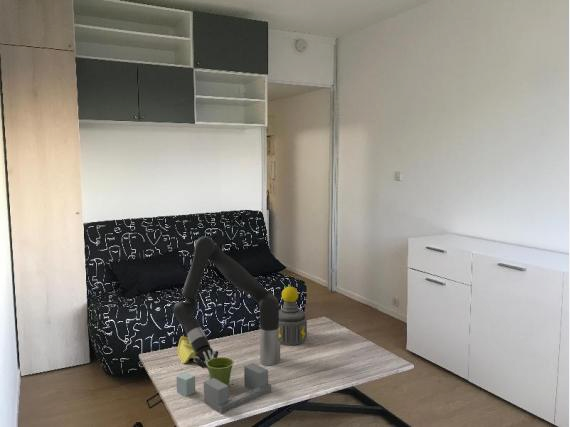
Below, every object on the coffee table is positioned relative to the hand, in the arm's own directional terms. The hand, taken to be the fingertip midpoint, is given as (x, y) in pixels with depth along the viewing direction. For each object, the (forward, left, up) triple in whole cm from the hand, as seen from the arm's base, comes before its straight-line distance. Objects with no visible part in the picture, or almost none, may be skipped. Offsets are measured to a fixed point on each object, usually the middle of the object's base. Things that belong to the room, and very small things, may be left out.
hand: (214, 374), depth 207 cm
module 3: (-11, +16, -4) cm, 20 cm away
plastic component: (-10, -34, -5) cm, 36 cm away
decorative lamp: (-61, -14, -5) cm, 63 cm away
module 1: (+13, -2, -4) cm, 14 cm away
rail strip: (0, +22, -4) cm, 23 cm away
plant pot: (0, +5, -5) cm, 7 cm away
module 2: (+10, +16, -4) cm, 20 cm away
